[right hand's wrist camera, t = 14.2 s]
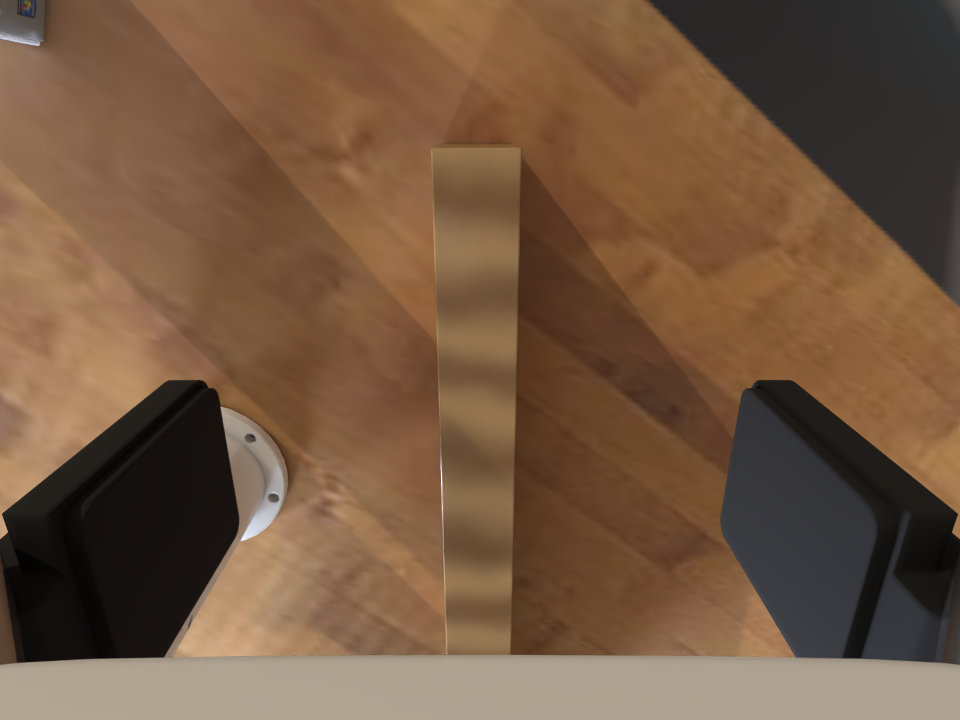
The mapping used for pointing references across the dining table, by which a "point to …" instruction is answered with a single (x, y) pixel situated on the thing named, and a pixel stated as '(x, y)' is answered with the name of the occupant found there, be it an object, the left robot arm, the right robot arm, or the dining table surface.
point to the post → (477, 385)
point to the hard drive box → (22, 21)
